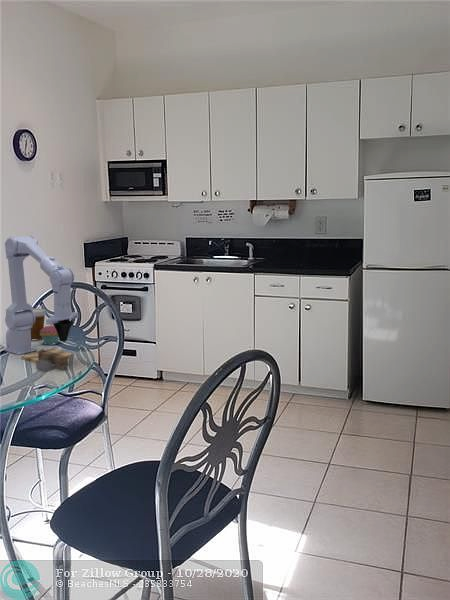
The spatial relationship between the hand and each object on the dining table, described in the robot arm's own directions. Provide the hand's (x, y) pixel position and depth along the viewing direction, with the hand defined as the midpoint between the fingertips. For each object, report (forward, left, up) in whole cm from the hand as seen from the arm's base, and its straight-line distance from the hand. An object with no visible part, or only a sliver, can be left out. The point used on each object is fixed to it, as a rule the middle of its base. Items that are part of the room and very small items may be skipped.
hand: (63, 341), depth 217 cm
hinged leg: (0, -4, -7) cm, 8 cm away
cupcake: (-27, +15, -9) cm, 32 cm away
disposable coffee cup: (-38, +15, -9) cm, 42 cm away
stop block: (+1, -8, -8) cm, 12 cm away
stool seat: (-10, +1, -8) cm, 14 cm away
